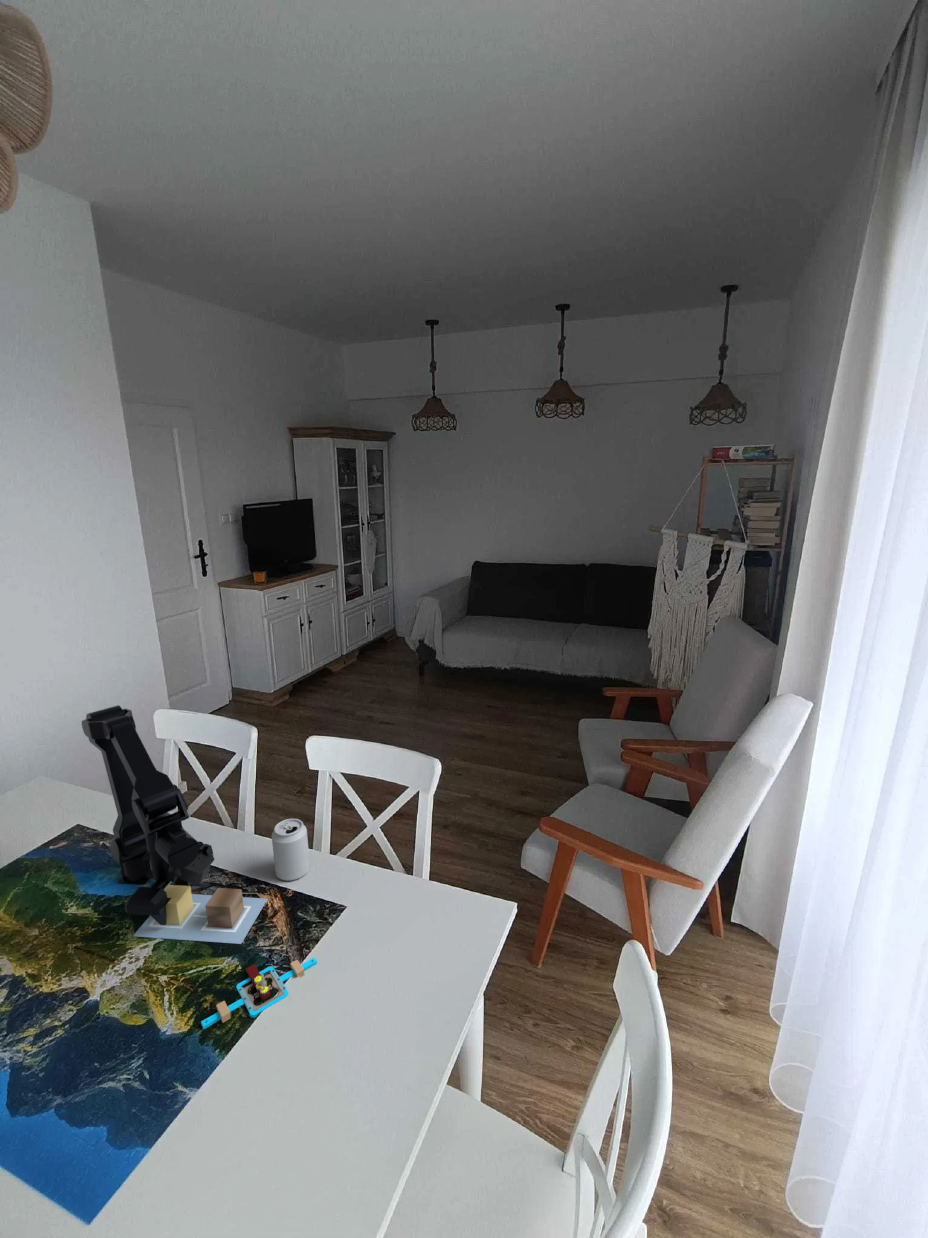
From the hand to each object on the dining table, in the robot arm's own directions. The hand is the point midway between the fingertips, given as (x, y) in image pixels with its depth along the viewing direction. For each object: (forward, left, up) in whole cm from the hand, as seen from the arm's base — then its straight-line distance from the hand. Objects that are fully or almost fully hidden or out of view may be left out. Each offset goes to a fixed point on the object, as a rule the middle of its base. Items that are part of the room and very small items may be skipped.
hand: (174, 911), depth 118 cm
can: (+19, +15, -2) cm, 24 cm away
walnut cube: (+11, 0, -1) cm, 11 cm away
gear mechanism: (+25, -15, -2) cm, 29 cm away
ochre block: (0, 0, -1) cm, 1 cm away
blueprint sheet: (+6, 0, -1) cm, 6 cm away
